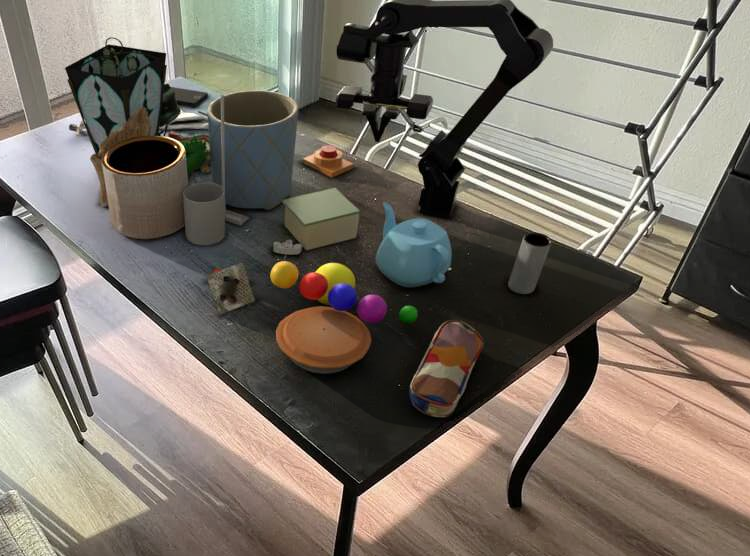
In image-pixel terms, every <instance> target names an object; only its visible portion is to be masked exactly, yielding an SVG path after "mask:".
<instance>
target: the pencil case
mask: <svg viewBox="0 0 750 556" xmlns="http://www.w3.org/2000/svg"><path fill="white" fill-rule="evenodd" d="M484 345H485V342H484V339H483V337H482V336H481V334H480V333H479V332H478V331H477V329H475V328H474V327H472V326H471V325H470V324H468V323H466V322H464V321H462V320H457V319H453V320H451V319H450V320H446V321H445V322H443V323H442V324H441V325H440V326H439V327H438V329H437V330H436V331H435V332H434V335H433V338H432V340H431V342H430V343H429V346H428V348H427V350H426V351H425V353H424V356H423V357H422V360H421V362H420V364H419V365H418V368H417V370H416V371H415V374H414V375H413V378H412V380H411V381H410V385H409V398H410V400H411V404H412V405H413V407H415V409H416V410H418V411H419V412H420V413H422V414H424V415H426V416H429V417H435V418H447V417H449V416H451V415H452V414H453V413H454V412H455V411H456V408H457V406H458V404H459V401H460V399H461V397H462V396H463V394H464V392H465V390H466V388H467V385H468V381H469V378H470V375H471V374H472V371H473V368H474V367H475V364H476V361H477V360H478V358H479V356H480V354H481V352H482V350H483V349H484Z"/></svg>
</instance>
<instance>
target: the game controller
mask: <svg viewBox="0 0 750 556" xmlns="http://www.w3.org/2000/svg"><path fill="white" fill-rule="evenodd" d="M272 247H273V248H272V251H273V252H274V253H276V254H281V255H285V256H284V258H283V261H286V260H285V259H286V257H287V255H289V256H290V255H295V256H296V255H299V254H300V253H301V252H302V249H303V246H302V245H301V244H300V243H296V244H293V240H292V239H286V241H283V242H282V243H281V242H279V241H274V242H273V246H272Z"/></svg>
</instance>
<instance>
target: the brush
mask: <svg viewBox="0 0 750 556" xmlns="http://www.w3.org/2000/svg"><path fill="white" fill-rule="evenodd" d="M224 95H225V94H224V93H221V94H220V97H221V155H222V188H223V189H224V195H225V155H224ZM226 205H227V204H226V199H225V222H229V223H231V224H234V225H237V226H242V225H243V224H244V223H245V222H246V221H247V220H249V219H250V216H247V215H244V214H241V213H239V212H238V213H237V212H235V211H232V210H229V209H226V208H227V207H226Z"/></svg>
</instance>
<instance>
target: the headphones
mask: <svg viewBox="0 0 750 556" xmlns="http://www.w3.org/2000/svg"><path fill="white" fill-rule="evenodd" d="M171 87H172V86H171V85H170V84H169V83H165V85H164V93H163V102H162V110H161V119H160V127H162V126H164V125H166V126H165V129H161V130H159V136H164V137H166V134H167V132H168V129H167V128H168V124H169V123H170V122H171V121H173V120H175V119H176V118H177V117H178V116H179V115H180V112H181V110H182V109H181V107H180V105H178V103H177V101H176V98H175V91H174V89H171ZM180 109H181V110H180ZM162 134H163V135H162Z"/></svg>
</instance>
